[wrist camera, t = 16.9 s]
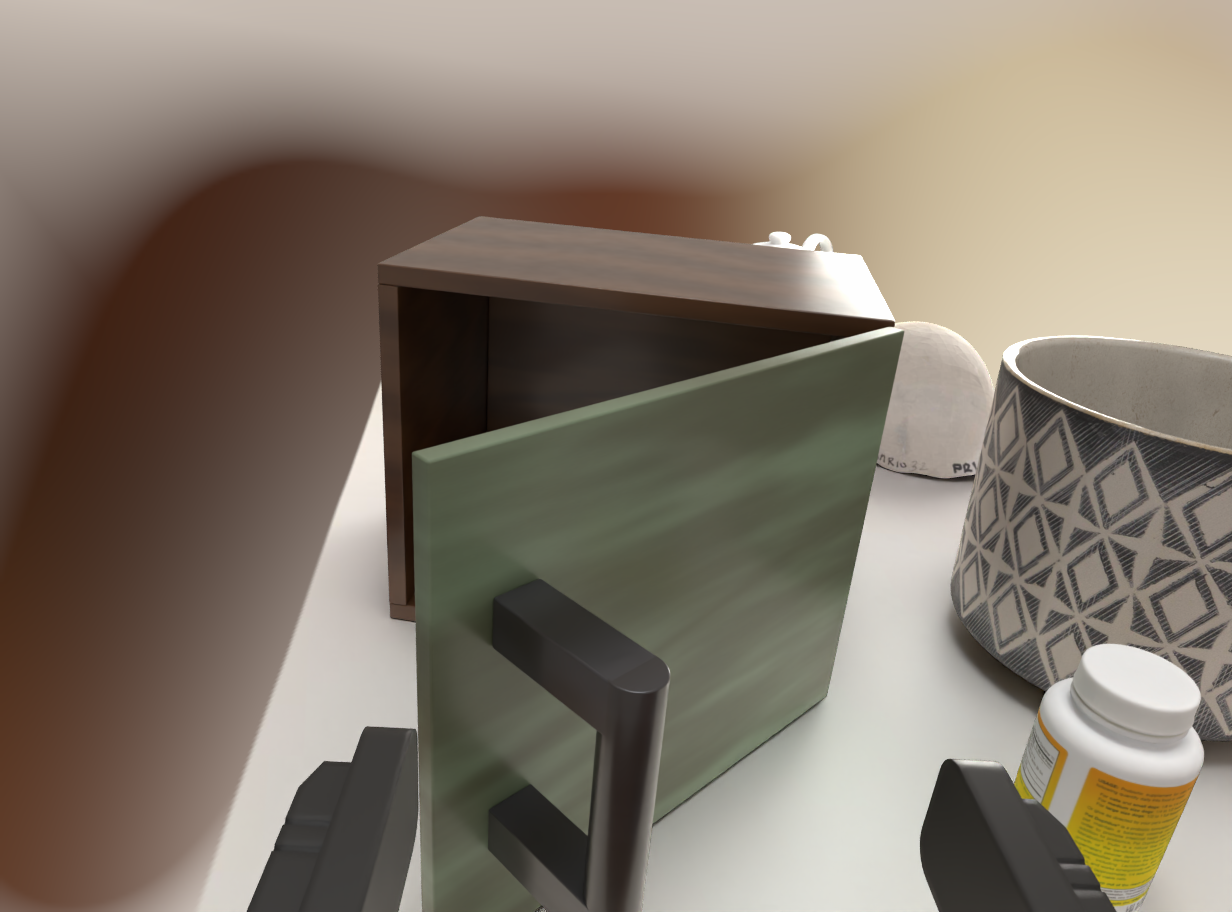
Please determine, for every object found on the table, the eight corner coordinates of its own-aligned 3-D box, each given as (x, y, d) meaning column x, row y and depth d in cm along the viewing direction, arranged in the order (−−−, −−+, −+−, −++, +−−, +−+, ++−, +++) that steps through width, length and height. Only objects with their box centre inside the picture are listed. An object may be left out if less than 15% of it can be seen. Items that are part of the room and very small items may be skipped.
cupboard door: (931, 759, 42) (1042, 367, 34) (545, 1128, 26) (584, 558, 18) (814, 688, 46) (889, 325, 38) (422, 969, 30) (410, 451, 22)
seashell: (892, 479, 89) (827, 348, 88) (1031, 428, 82) (962, 284, 81) (860, 535, 77) (783, 383, 76) (1022, 481, 69) (939, 311, 68)
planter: (1258, 617, 56) (1365, 374, 50) (1357, 829, 40) (1537, 509, 33) (947, 542, 63) (1005, 318, 56) (923, 698, 46) (1000, 407, 40)
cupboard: (819, 687, 47) (896, 320, 39) (389, 617, 49) (376, 263, 41) (807, 543, 61) (861, 255, 53) (475, 495, 64) (478, 216, 56)
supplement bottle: (1167, 901, 36) (1262, 700, 31) (1081, 956, 33) (1171, 745, 29) (1049, 805, 40) (1117, 617, 36) (964, 846, 37) (1027, 649, 33)
